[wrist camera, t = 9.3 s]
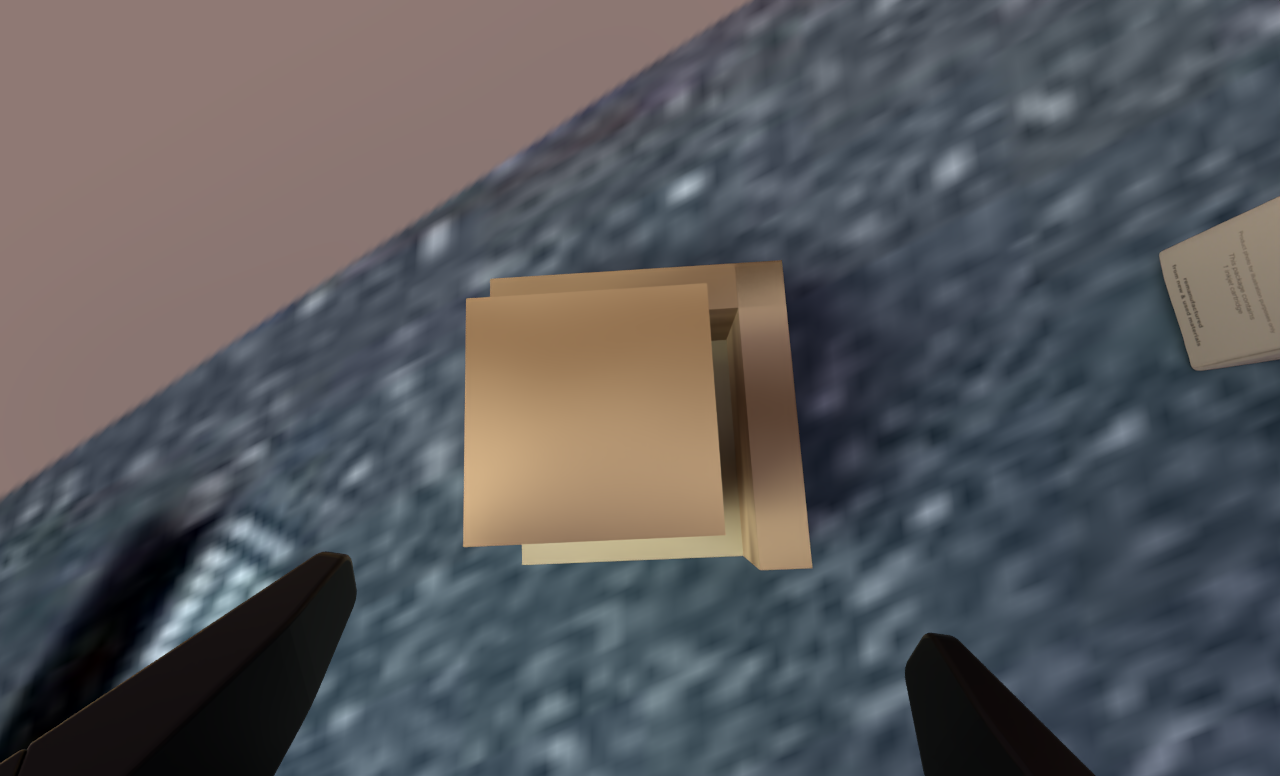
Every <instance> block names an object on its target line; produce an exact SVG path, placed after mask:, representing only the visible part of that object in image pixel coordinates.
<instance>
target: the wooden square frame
mask: <svg viewBox="0 0 1280 776" xmlns="http://www.w3.org/2000/svg"><path fill="white" fill-rule="evenodd" d="M702 283H707V290H708V304H709V317H710V331H711V344H712V358H713V371H714V385H715V398H716V412H717V425H718V439H719V452H720V466H721V479H722V493H723V506H724V520H725V533H726V535H720V536H698V537H676V538H653V539H631V540H609V541H587V542H565V543H543V544H522V565H532V564H556V563H580V562H604V561H628V560H652V559H676V558H700V557H724V556H744V557H745V558H747V559H748V560H749V561H750V562H751V563H752V564H754V565H755V566H756V567H757V568H758V569H759V570H778V569H803V568H812V560H811V550H810V540H809V530H808V520H807V509H806V499H805V489H804V479H803V469H802V459H801V449H800V439H799V429H798V419H797V409H796V399H795V389H794V379H793V369H792V359H791V349H790V339H789V329H788V319H787V309H786V299H785V289H784V279H783V269H782V260H780V261H764V262H748V263H733V264H717V265H702V266H686V267H670V268H655V269H639V270H624V271H608V272H592V273H577V274H561V275H546V276H530V277H514V278H499V279H490V297H500V296H516V295H531V294H547V293H562V292H578V291H593V290H609V289H624V288H640V287H655V286H671V285H686V284H702Z"/></svg>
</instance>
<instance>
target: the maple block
mask: <svg viewBox="0 0 1280 776" xmlns="http://www.w3.org/2000/svg"><path fill="white" fill-rule="evenodd" d="M720 535H726V533H725V520H724V506H723V493H722V479H721V466H720V452H719V439H718V425H717V412H716V398H715V385H714V371H713V358H712V344H711V331H710V317H709V304H708V290H707V283H702V284H686V285H671V286H655V287H640V288H624V289H609V290H593V291H578V292H562V293H547V294H531V295H516V296H500V297H485V298H469V299H466V366H465V453H464V541H463V547H476V546H498V545H520V544H543V543H565V542H587V541H609V540H631V539H653V538H676V537H698V536H720Z"/></svg>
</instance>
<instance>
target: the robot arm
mask: <svg viewBox="0 0 1280 776" xmlns="http://www.w3.org/2000/svg"><path fill="white" fill-rule="evenodd" d="M356 594H357V589H356V583H355V577H354V571H353V565H352V561H351V558H350V557H349V556H348V555H346V554H341V553H334V552H321V553H318V554H316V555H314V556H313V557H311V558H310V559H308V560H307V561H305V562H304V563H302V564H301V565H299V566H298V567H296V568H295V569H293V570H292V571H290V572H289V573H287V574H286V575H284V576H283V577H281V578H280V579H278V580H277V581H275V582H274V583H272V584H271V585H269V586H268V587H266V588H265V589H263V590H262V591H260V592H259V593H257V594H256V595H254V596H253V597H251V598H250V599H248V600H247V601H245V602H243V603H242V604H240V605H239V606H237V607H236V608H234V609H233V610H231V611H230V612H228V613H227V614H225V615H224V616H222V617H221V618H219V619H218V620H216V621H215V622H213V623H212V624H210V625H209V626H207V627H206V628H204V629H203V630H201V631H200V632H198V633H197V634H195V635H194V636H192V637H191V638H189V639H188V640H186V641H185V642H183V643H182V644H180V645H179V646H177V647H176V648H174V649H173V650H171V651H170V652H168V653H167V654H165V655H164V656H162V657H161V658H159V659H158V660H156V661H154V662H153V663H151V664H150V665H148V666H147V667H145V668H144V669H142V670H141V671H139V672H138V673H136V674H135V675H133V676H132V677H130V678H129V679H127V680H126V681H124V682H123V683H121V684H120V685H118V686H117V687H115V688H114V689H112V690H111V691H109V692H108V693H106V694H105V695H103V696H102V697H100V698H99V699H97V700H96V701H94V702H93V703H91V704H90V705H88V706H87V707H85V708H84V709H82V710H81V711H79V712H78V713H76V714H75V715H73V716H72V717H70V718H68V719H67V720H65V721H64V722H62V723H61V724H59V725H58V726H56V727H55V728H53V729H52V730H50V731H49V732H47V733H46V734H44V735H43V736H41V737H40V738H38V739H37V740H35V741H34V742H32V743H31V744H30V745H29V747H28V749H27V750H26V749H23V750H20V751H18V752H17V753H15V754H14V755H12V756H11V757H9V758H8V759H6V760H5V761H3V762H2V763H0V776H274V775H275V773H276V771H277V769H278V767H279V766H280V764H281V762H282V760H283V758H284V756H285V755H286V753H287V751H288V749H289V747H290V745H291V743H292V742H293V740H294V738H295V736H296V734H297V732H298V731H299V729H300V727H301V725H302V723H303V721H304V719H305V717H306V715H307V713H308V711H309V710H310V708H311V706H312V703H313V701H314V699H315V697H316V694H317V692H318V690H319V688H320V685H321V683H322V680H323V678H324V676H325V673H326V671H327V669H328V666H329V664H330V661H331V659H332V657H333V654H334V652H335V650H336V647H337V645H338V642H339V640H340V638H341V635H342V633H343V631H344V628H345V626H346V623H347V621H348V619H349V616H350V614H351V612H352V609H353V607H354V604H355V600H356ZM905 680H906V686H907V691H908V696H909V701H910V706H911V711H912V716H913V721H914V726H915V731H916V736H917V741H918V746H919V751H920V756H921V761H922V766H923V771H924V775H925V776H1095V775H1094V774H1093V773H1092V772H1091V771H1090V770H1089V769H1088V768H1087V767H1086V766H1085V765H1084V764H1083V763H1082V762H1081V761H1080V760H1079V759H1078V758H1077V757H1076V756H1075V755H1074V754H1073V753H1072V752H1071V751H1070V750H1069V749H1068V748H1067V747H1066V746H1065V745H1064V744H1063V743H1062V742H1061V741H1060V740H1059V739H1058V738H1057V737H1056V736H1055V735H1054V734H1053V733H1052V732H1051V731H1050V730H1049V729H1048V728H1047V727H1046V726H1045V725H1044V724H1043V723H1042V722H1041V721H1040V720H1039V719H1038V718H1037V717H1036V716H1035V715H1034V714H1033V713H1032V712H1031V711H1030V710H1029V709H1028V708H1027V707H1026V706H1025V705H1024V704H1023V703H1022V702H1021V701H1020V700H1019V699H1018V698H1017V697H1016V696H1015V695H1014V694H1013V693H1012V692H1011V691H1010V690H1009V689H1008V688H1007V687H1006V686H1005V685H1003V684H1002V683H1001V682H1000V681H999V680H998V679H997V678H996V677H995V676H994V675H993V674H992V673H991V672H990V671H989V670H988V669H987V668H986V667H985V666H984V665H983V664H982V663H981V662H980V661H979V660H978V659H977V658H976V657H975V656H974V655H973V654H972V653H971V652H970V651H969V650H968V649H967V648H966V647H965V646H964V645H963V644H962V643H961V642H960V641H959V640H958V639H956V638H955V637H953V636H950V635H944V634H937V633H927V634H925V635H924V636H923V637H922V638H921V640H920V642H919V643H918V645H917V647H916V648H915V650H914V651H913V653H912V655H911V656H910V658H909V660H908V661H907V664H906V667H905Z"/></svg>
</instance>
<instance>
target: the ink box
mask: <svg viewBox="0 0 1280 776" xmlns="http://www.w3.org/2000/svg"><path fill="white" fill-rule="evenodd" d="M1159 257H1160V263H1161V267H1162V271H1163V276H1164V280H1165V283H1166V286H1167V290H1168V293H1169V296H1170V299H1171V302H1172V305H1173V308H1174V311H1175V314H1176V317H1177V320H1178V323H1179V326H1180V329H1181V332H1182V335H1183V339H1184V343H1185V347H1186V350H1187V353H1188V356H1189V360H1190V364H1191V367H1192V368H1193V369H1194V370H1199V371H1203V370H1210V369H1218V368H1225V367H1232V366H1238V365H1245V364H1252V363H1258V362H1265V361H1271V360H1278V359H1280V196H1279V197H1277V198H1275V199H1273V200H1271V201H1268V202H1266V203H1264V204H1262V205H1260V206H1258V207H1256V208H1254V209H1252V210H1249V211H1247V212H1245V213H1243V214H1241V215H1238V216H1236V217H1234V218H1232V219H1230V220H1228V221H1225V222H1223V223H1221V224H1219V225H1217V226H1215V227H1213V228H1210V229H1208V230H1206V231H1204V232H1202V233H1200V234H1198V235H1196V236H1193V237H1191V238H1189V239H1187V240H1185V241H1183V242H1181V243H1178V244H1176V245H1174V246H1172V247H1170V248H1168V249H1165V250H1163V251H1162V252H1160V254H1159Z"/></svg>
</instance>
